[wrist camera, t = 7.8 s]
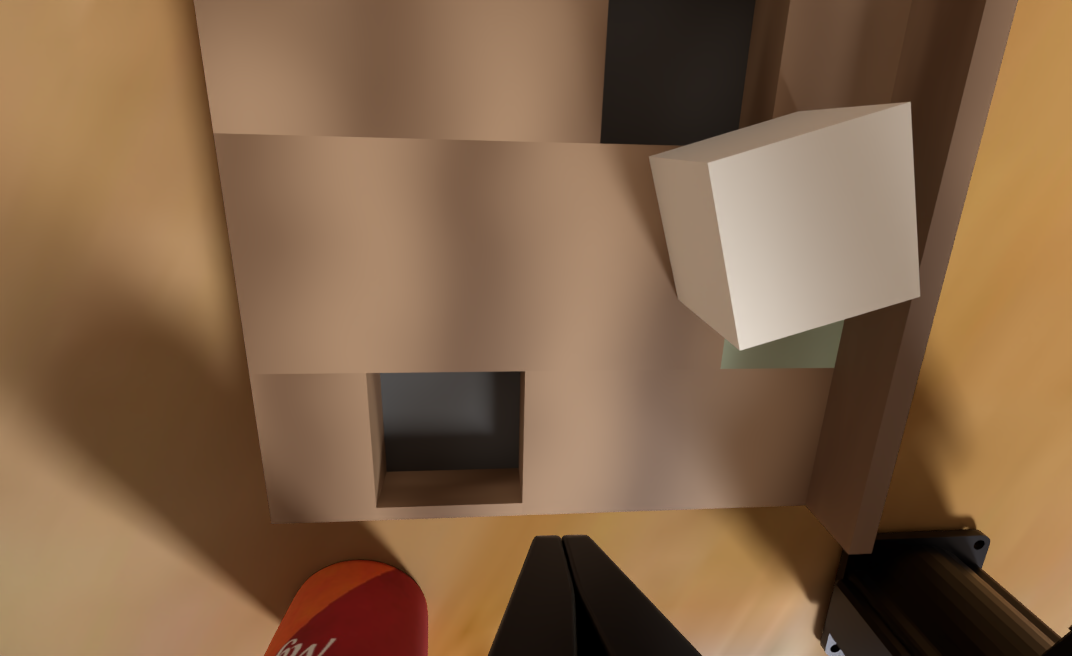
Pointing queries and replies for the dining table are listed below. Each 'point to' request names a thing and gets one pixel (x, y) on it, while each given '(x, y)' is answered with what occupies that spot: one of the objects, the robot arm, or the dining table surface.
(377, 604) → the paper cup
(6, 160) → the dining table surface
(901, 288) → the block
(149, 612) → the dining table surface
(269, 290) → the trap board
